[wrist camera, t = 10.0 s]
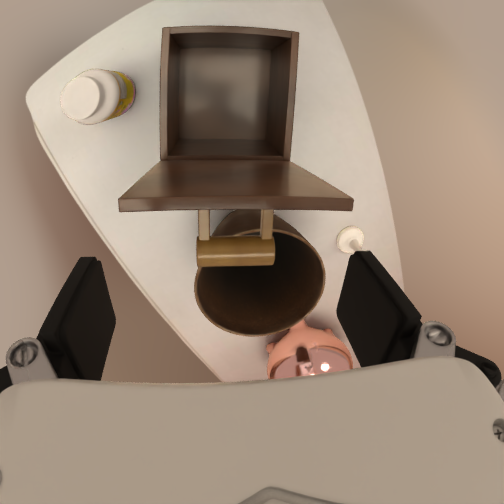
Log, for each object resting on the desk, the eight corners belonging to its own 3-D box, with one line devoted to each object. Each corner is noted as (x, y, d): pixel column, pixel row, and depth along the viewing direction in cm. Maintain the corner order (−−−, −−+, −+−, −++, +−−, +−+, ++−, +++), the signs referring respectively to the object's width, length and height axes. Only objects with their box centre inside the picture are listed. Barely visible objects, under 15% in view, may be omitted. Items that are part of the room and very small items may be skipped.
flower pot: (205, 273, 51) (206, 343, 38) (191, 189, 44) (182, 239, 30) (293, 262, 53) (321, 326, 39) (292, 177, 45) (328, 221, 31)
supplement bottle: (98, 122, 37) (58, 138, 26) (89, 80, 33) (46, 81, 22) (141, 109, 37) (114, 118, 26) (132, 66, 34) (102, 58, 23)
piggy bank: (310, 371, 69) (328, 427, 55) (247, 351, 62) (257, 416, 48) (354, 328, 63) (383, 384, 50) (291, 301, 57) (315, 366, 43)
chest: (175, 44, 33) (162, 27, 23) (276, 46, 35) (299, 32, 25) (173, 144, 40) (160, 163, 30) (269, 144, 42) (289, 163, 32)
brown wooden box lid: (117, 198, 16) (128, 283, 18) (354, 198, 18) (341, 277, 20) (159, 160, 30) (161, 210, 32) (291, 161, 31) (287, 209, 34)
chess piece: (362, 223, 50) (390, 252, 42) (362, 248, 53) (388, 279, 44) (336, 229, 50) (360, 260, 42) (337, 254, 53) (359, 287, 44)
